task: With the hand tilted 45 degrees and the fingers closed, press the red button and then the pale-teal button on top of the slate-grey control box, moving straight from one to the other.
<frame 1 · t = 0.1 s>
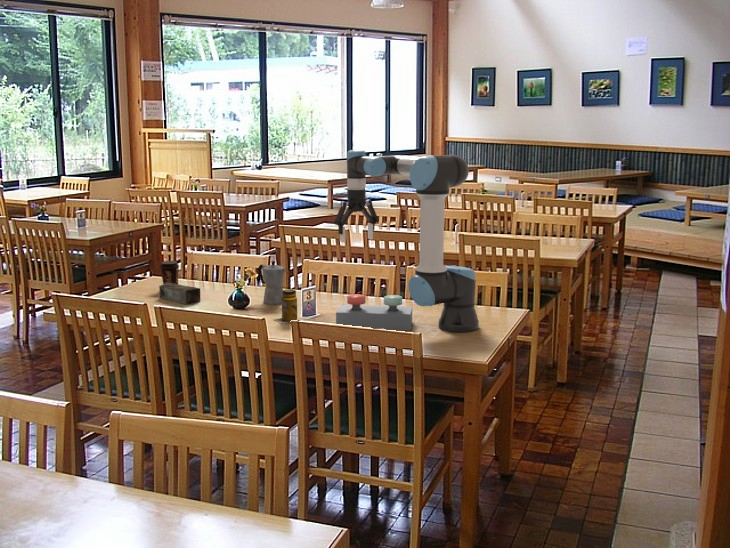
hand: (356, 240, 336), 28 cm above the table, tool pointing down, fingers open, 13 cm apart
control box: (374, 324, 313), on the table
condiment: (287, 321, 320), on the table
coffee cup: (170, 290, 373), on the table
teal button: (393, 307, 311), point 7 cm above the table, slide at 0.0 cm
dark grey brick: (180, 300, 354), on the table
coffeepot: (272, 302, 351), on the table
red button: (356, 306, 312), point 7 cm above the table, slide at 0.0 cm
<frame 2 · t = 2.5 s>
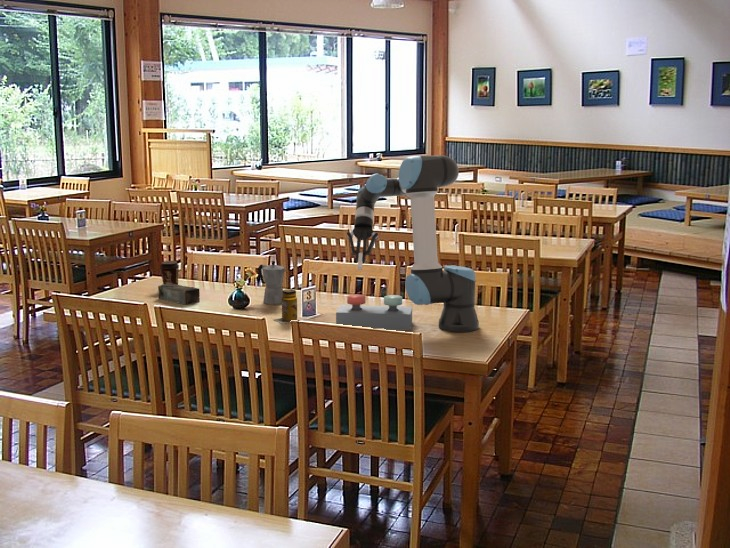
hand: (359, 268, 323), 19 cm above the table, tool tilted 45°, fingers closed
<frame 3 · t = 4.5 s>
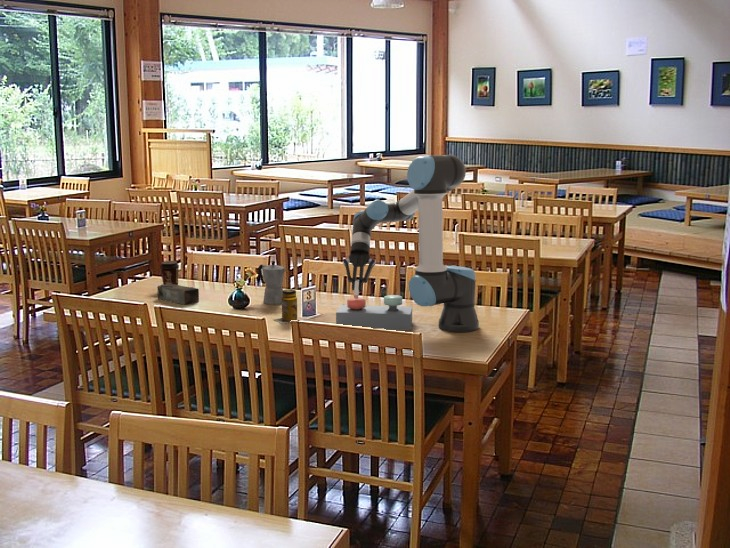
hand: (356, 296, 312), 11 cm above the table, tool tilted 45°, fingers closed
red button: (356, 310, 313), point 5 cm above the table, slide at 1.5 cm, touching gripper
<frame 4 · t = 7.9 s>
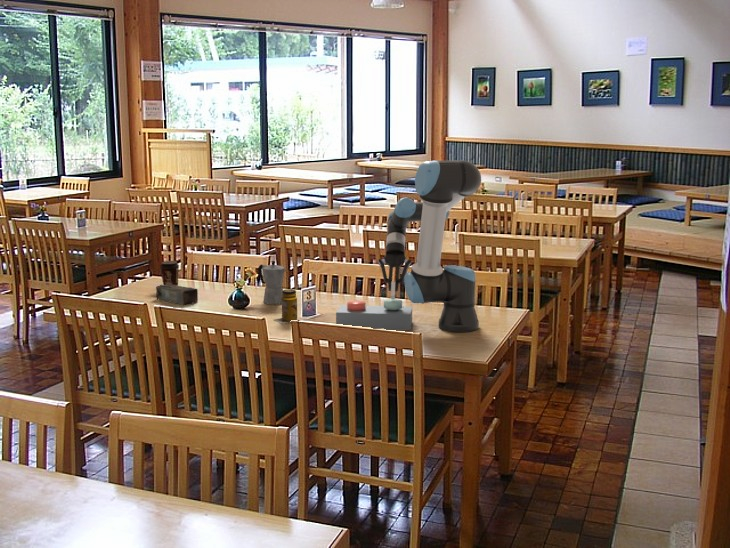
hand: (392, 297, 311), 11 cm above the table, tool tilted 45°, fingers closed
teal button: (393, 311, 311), point 6 cm above the table, slide at 1.5 cm, touching gripper
red button: (356, 312, 313), point 4 cm above the table, slide at 2.5 cm, touching control box
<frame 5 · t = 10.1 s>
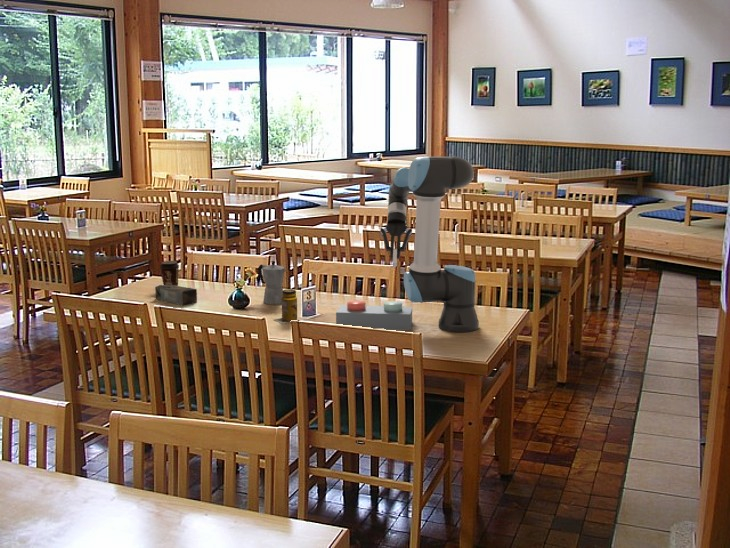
hand: (394, 264, 319), 21 cm above the table, tool tilted 45°, fingers closed
teal button: (393, 313, 311), point 4 cm above the table, slide at 2.5 cm, touching control box
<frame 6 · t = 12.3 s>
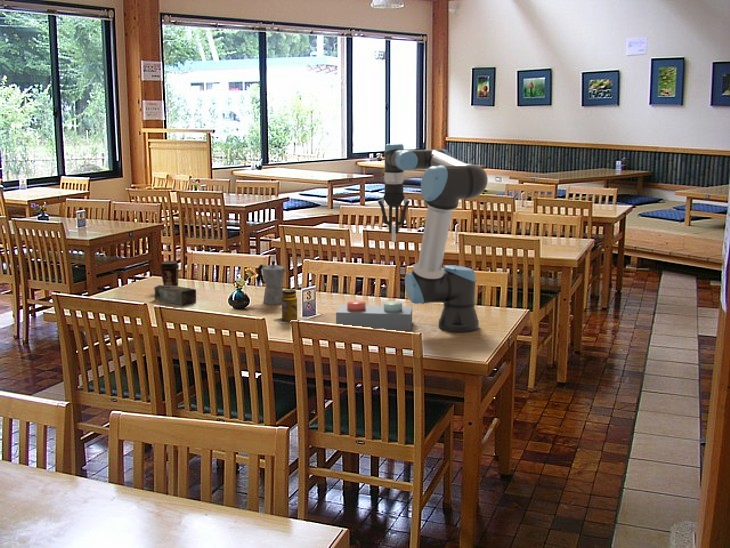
hand: (393, 241, 331), 28 cm above the table, tool pointing down, fingers closed
at the end: red button slide at 2.5 cm; teal button slide at 2.5 cm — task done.
